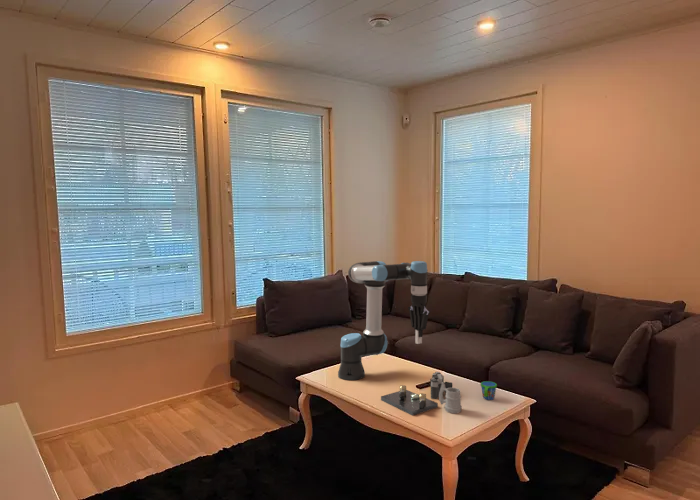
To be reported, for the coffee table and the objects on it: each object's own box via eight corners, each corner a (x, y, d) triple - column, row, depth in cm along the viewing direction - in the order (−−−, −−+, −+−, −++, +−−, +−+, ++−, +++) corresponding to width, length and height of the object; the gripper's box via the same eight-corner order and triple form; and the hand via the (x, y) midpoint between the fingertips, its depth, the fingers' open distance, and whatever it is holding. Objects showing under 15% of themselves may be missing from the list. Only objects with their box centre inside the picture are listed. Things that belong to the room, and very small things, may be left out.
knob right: (418, 409, 229) (418, 400, 229) (419, 401, 238) (419, 393, 238) (425, 409, 228) (425, 401, 228) (426, 401, 238) (426, 393, 238)
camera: (450, 400, 245) (450, 381, 244) (429, 398, 248) (429, 379, 247) (453, 389, 260) (453, 371, 259) (433, 388, 263) (433, 369, 262)
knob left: (398, 400, 241) (398, 391, 240) (400, 392, 250) (400, 385, 250) (404, 400, 240) (404, 392, 240) (406, 393, 249) (406, 385, 249)
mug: (455, 415, 228) (455, 389, 227) (434, 408, 236) (434, 383, 235) (464, 410, 233) (465, 385, 232) (444, 403, 241) (444, 379, 240)
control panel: (381, 400, 247) (380, 392, 246) (405, 393, 256) (405, 385, 255) (412, 415, 228) (412, 407, 228) (437, 407, 237) (437, 399, 237)
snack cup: (485, 393, 254) (485, 378, 254) (500, 396, 250) (500, 381, 249) (476, 400, 245) (476, 385, 244) (492, 403, 240) (492, 388, 240)
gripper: (403, 293, 239) (403, 341, 241) (422, 297, 228) (422, 347, 230) (415, 291, 243) (415, 338, 245) (434, 295, 232) (434, 345, 234)
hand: (418, 343), depth 238 cm, fingers closed
